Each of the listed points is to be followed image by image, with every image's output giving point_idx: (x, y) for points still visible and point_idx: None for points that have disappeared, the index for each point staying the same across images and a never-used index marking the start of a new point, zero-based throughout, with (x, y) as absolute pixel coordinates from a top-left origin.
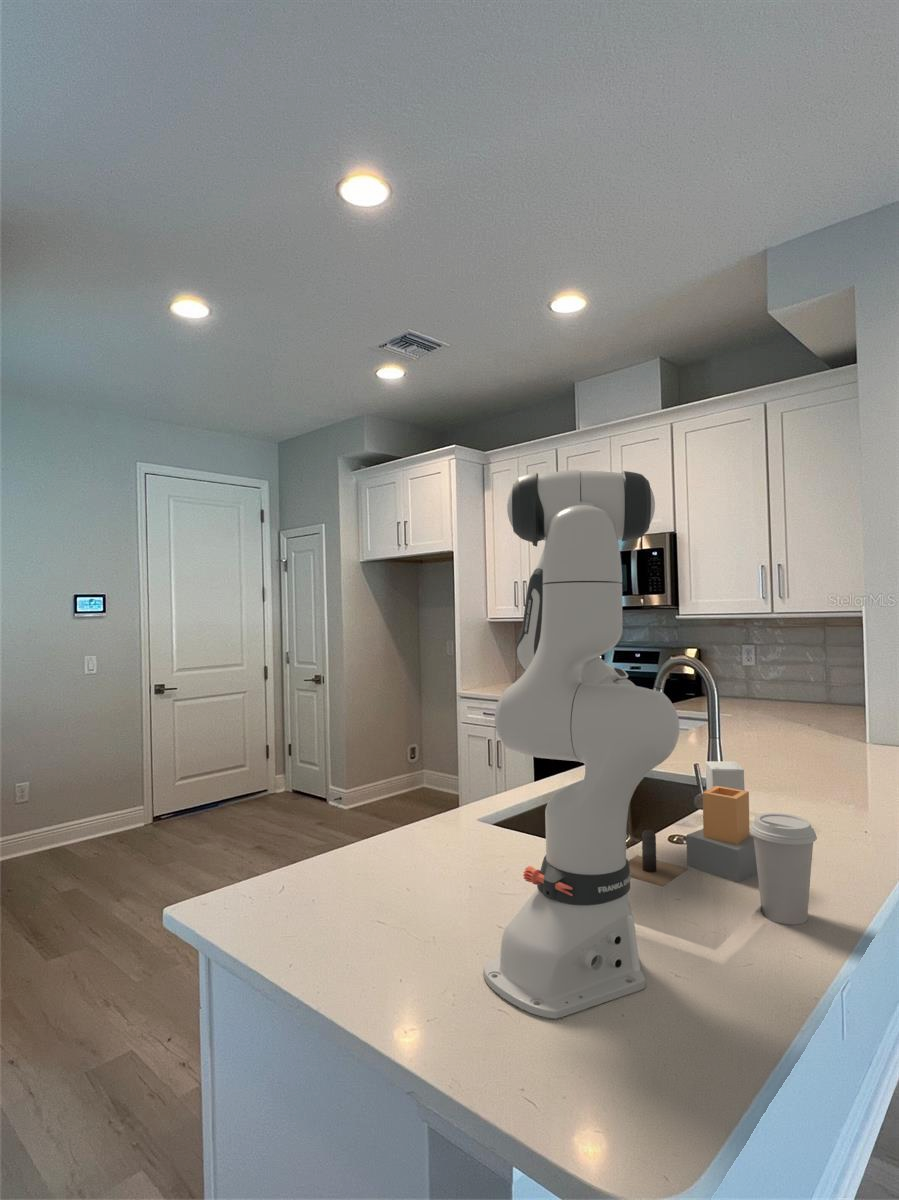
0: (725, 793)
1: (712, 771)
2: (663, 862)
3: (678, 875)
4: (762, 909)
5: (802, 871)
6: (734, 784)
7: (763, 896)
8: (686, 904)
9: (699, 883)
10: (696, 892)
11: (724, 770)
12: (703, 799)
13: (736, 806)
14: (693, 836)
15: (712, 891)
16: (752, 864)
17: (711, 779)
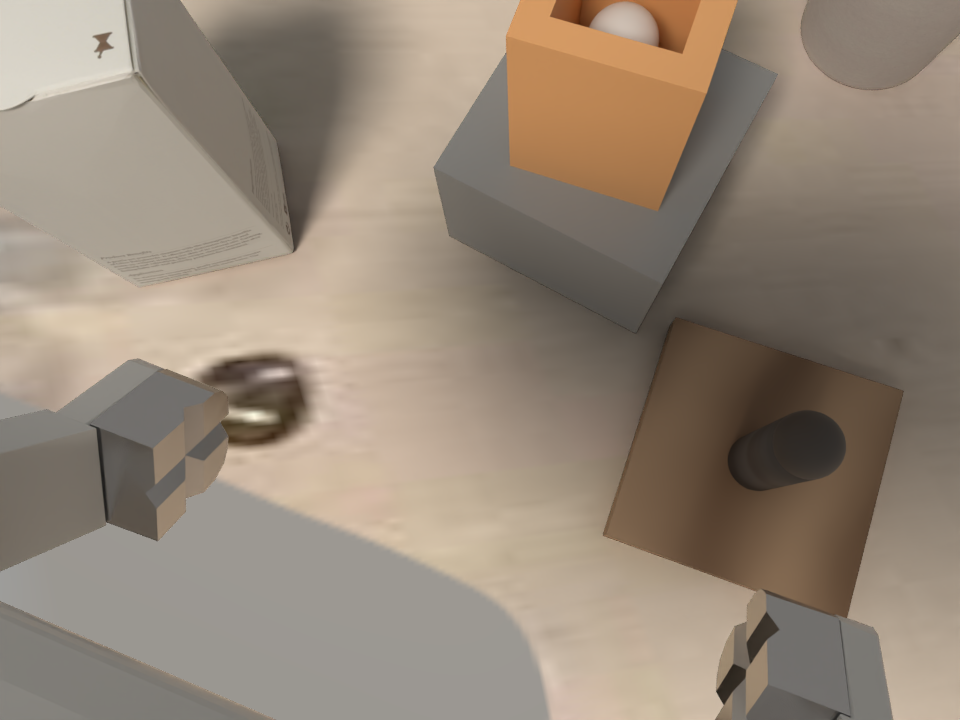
0: (560, 4)
1: (142, 78)
2: (649, 416)
3: (764, 346)
4: (903, 77)
5: None
6: (167, 14)
7: (950, 41)
8: (929, 312)
9: (716, 284)
10: (806, 288)
11: (131, 6)
12: (698, 112)
13: None
14: (671, 252)
15: (771, 238)
16: None
17: (148, 119)
